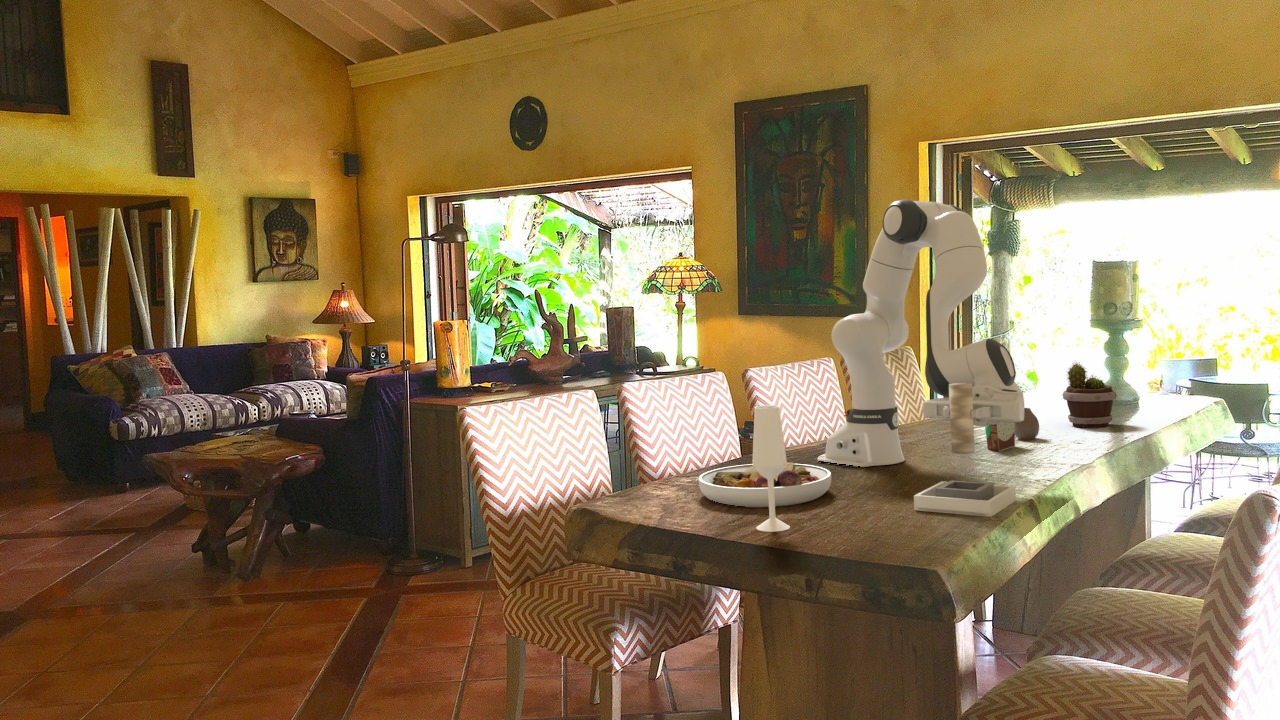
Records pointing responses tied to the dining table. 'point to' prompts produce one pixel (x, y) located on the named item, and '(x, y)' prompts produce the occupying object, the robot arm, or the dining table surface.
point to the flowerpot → (1088, 399)
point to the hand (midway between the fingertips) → (960, 413)
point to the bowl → (764, 485)
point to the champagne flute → (769, 457)
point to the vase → (1027, 426)
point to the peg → (961, 418)
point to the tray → (965, 498)
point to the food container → (1000, 436)
